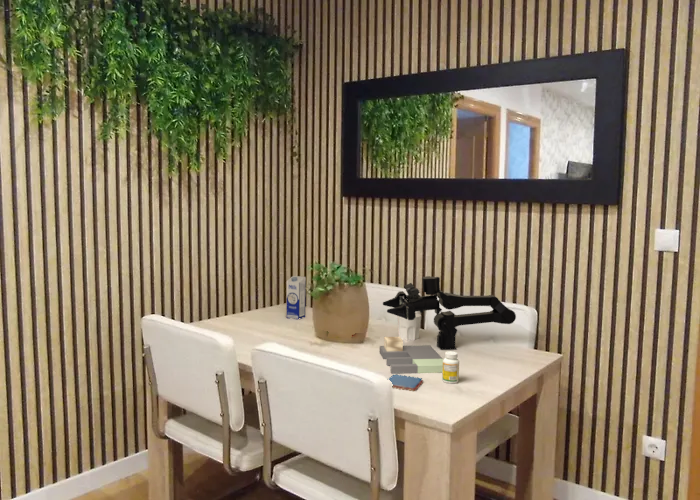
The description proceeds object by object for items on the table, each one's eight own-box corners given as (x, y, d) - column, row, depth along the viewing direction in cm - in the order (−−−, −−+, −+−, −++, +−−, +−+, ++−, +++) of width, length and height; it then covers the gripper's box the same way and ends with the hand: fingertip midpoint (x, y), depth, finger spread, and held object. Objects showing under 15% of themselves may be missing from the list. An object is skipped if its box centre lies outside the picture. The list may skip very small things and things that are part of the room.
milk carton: (305, 316, 283) (306, 276, 281) (298, 319, 277) (299, 278, 275) (293, 315, 286) (293, 275, 284) (286, 318, 280) (286, 277, 278)
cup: (412, 342, 239) (413, 318, 238) (392, 338, 245) (392, 315, 244) (424, 337, 247) (425, 314, 246) (404, 333, 253) (405, 311, 252)
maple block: (399, 346, 223) (399, 336, 222) (402, 351, 217) (402, 340, 216) (384, 346, 222) (384, 336, 222) (386, 351, 216) (387, 340, 216)
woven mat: (415, 393, 180) (415, 387, 180) (383, 388, 185) (383, 382, 184) (424, 383, 190) (424, 377, 190) (393, 378, 194) (393, 373, 194)
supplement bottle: (453, 385, 187) (454, 356, 186) (439, 381, 191) (439, 353, 190) (461, 381, 191) (462, 352, 190) (447, 377, 195) (448, 349, 194)
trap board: (430, 351, 226) (430, 345, 226) (448, 372, 200) (448, 365, 200) (379, 352, 224) (379, 345, 223) (391, 373, 198) (391, 366, 198)
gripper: (417, 277, 236) (379, 281, 234) (429, 290, 218) (388, 294, 216) (418, 303, 238) (381, 307, 237) (430, 318, 220) (389, 322, 219)
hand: (384, 307), depth 227 cm, fingers open, 9 cm apart
